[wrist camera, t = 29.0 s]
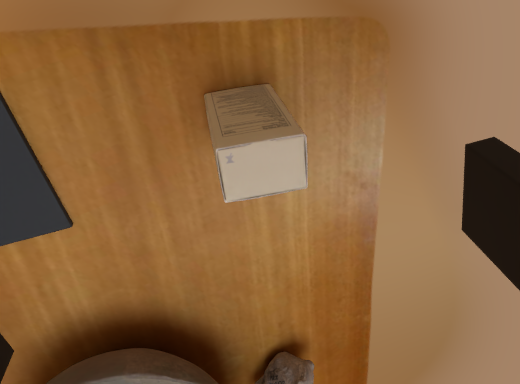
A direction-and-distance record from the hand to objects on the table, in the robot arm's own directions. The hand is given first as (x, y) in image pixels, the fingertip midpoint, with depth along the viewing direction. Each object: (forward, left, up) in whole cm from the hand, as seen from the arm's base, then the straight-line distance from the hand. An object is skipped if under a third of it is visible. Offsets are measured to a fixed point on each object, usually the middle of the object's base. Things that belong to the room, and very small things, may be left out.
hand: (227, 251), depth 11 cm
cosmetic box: (-2, +7, -29) cm, 30 cm away
